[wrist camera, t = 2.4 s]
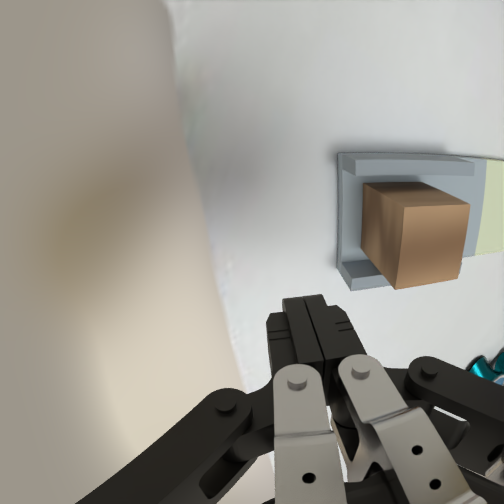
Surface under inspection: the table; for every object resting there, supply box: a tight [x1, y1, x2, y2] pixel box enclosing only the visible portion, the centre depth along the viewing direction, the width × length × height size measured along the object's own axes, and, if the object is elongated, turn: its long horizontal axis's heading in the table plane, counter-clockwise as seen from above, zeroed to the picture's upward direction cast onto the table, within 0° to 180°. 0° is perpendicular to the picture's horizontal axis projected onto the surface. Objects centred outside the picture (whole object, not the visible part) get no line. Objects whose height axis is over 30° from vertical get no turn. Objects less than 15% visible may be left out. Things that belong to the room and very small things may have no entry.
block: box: [361, 182, 471, 290], centre depth 18 cm, size 5×5×6 cm
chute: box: [337, 153, 504, 291], centre depth 20 cm, size 9×22×4 cm, turn 95°
